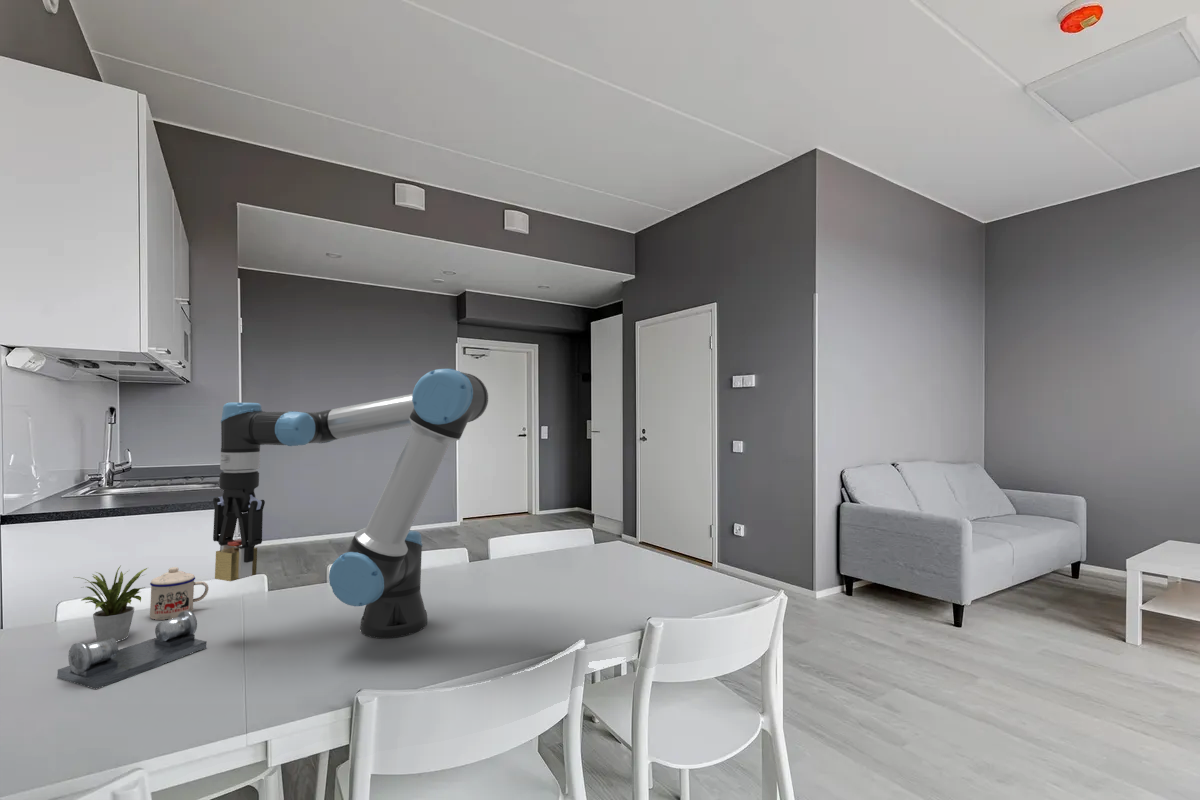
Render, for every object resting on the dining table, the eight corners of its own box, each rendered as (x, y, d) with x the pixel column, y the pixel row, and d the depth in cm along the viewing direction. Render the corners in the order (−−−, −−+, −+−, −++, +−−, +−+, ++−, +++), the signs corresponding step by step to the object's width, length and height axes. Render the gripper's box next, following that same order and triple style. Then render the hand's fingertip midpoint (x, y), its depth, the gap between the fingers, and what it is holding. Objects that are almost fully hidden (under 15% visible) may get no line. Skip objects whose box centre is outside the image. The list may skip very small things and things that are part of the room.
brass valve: (240, 572, 130) (242, 537, 130) (256, 574, 128) (257, 539, 128) (214, 578, 124) (216, 542, 124) (230, 581, 122) (232, 544, 123)
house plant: (51, 659, 115) (55, 579, 116) (70, 637, 127) (73, 563, 127) (141, 645, 123) (144, 570, 123) (150, 625, 134) (153, 556, 135)
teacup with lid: (148, 623, 136) (150, 574, 136) (148, 613, 143) (150, 566, 143) (209, 613, 143) (210, 567, 144) (206, 604, 150) (207, 560, 151)
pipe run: (169, 639, 126) (171, 606, 126) (206, 648, 122) (207, 614, 122) (57, 677, 107) (59, 638, 108) (95, 689, 103) (97, 648, 103)
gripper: (195, 470, 127) (191, 574, 126) (252, 474, 120) (248, 584, 119) (228, 467, 134) (224, 566, 133) (283, 471, 127) (280, 575, 126)
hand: (236, 575), depth 126 cm, fingers closed on brass valve, 5 cm apart
